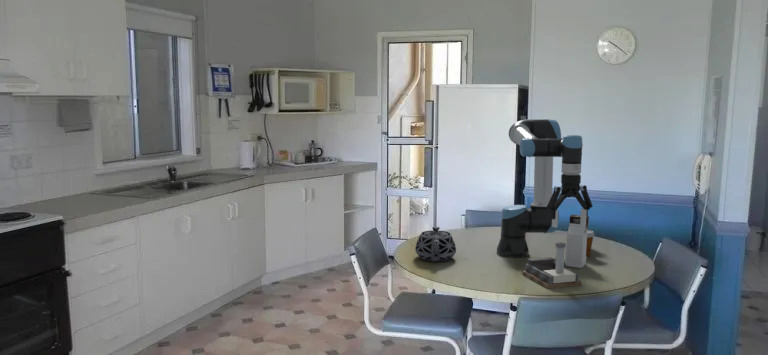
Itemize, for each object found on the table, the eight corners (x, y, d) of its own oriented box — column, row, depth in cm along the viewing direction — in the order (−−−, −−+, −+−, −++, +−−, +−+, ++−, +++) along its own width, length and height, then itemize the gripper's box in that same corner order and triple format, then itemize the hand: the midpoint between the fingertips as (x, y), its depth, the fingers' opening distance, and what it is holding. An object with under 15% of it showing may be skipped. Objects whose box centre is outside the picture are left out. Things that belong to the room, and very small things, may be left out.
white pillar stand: (543, 277, 258) (544, 242, 256) (564, 275, 261) (566, 240, 259) (553, 283, 251) (555, 246, 249) (575, 281, 253) (577, 245, 251)
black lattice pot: (453, 249, 310) (454, 220, 308) (457, 267, 279) (458, 234, 277) (415, 249, 311) (415, 219, 309) (415, 266, 280) (415, 233, 278)
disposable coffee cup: (594, 258, 294) (595, 233, 293) (573, 257, 296) (574, 232, 295) (592, 253, 304) (593, 229, 302) (571, 252, 306) (572, 228, 304)
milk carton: (581, 268, 278) (583, 226, 276) (565, 266, 282) (567, 224, 279) (585, 264, 284) (587, 223, 282) (569, 262, 288) (571, 221, 285)
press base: (522, 274, 269) (522, 259, 268) (555, 271, 274) (555, 256, 273) (546, 288, 250) (547, 272, 249) (581, 285, 255) (582, 269, 254)
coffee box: (567, 247, 315) (569, 216, 313) (569, 244, 321) (570, 213, 319) (586, 249, 312) (588, 217, 309) (587, 246, 317) (589, 215, 315)
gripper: (549, 176, 243) (547, 229, 246) (603, 173, 251) (600, 225, 254) (539, 173, 250) (537, 226, 253) (591, 171, 258) (588, 222, 261)
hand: (568, 226), depth 254 cm, fingers open, 13 cm apart
